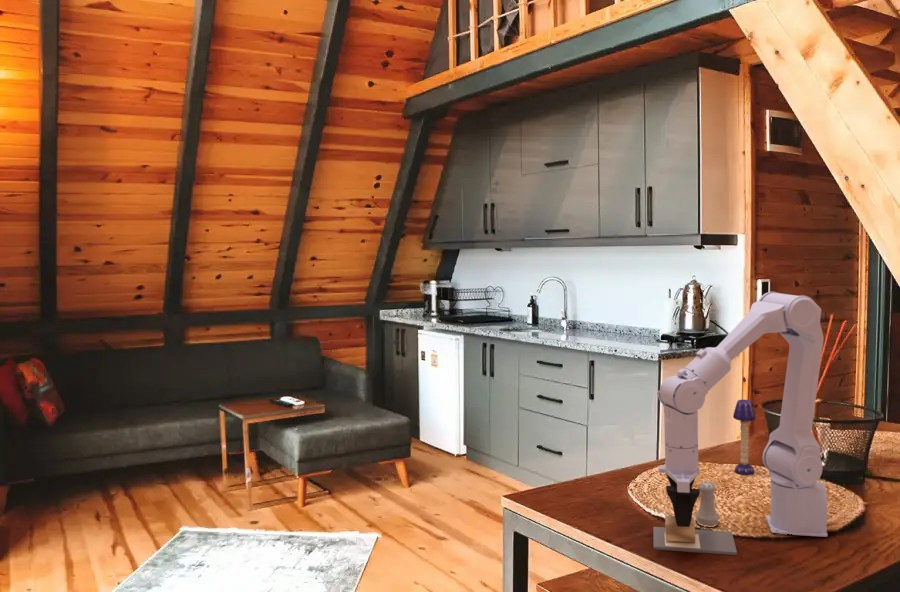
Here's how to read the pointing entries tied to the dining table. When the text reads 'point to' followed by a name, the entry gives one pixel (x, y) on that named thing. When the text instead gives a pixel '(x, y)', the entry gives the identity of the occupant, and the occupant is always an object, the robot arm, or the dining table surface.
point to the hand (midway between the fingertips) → (682, 517)
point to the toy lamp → (744, 434)
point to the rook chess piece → (707, 505)
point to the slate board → (697, 542)
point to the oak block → (679, 530)
